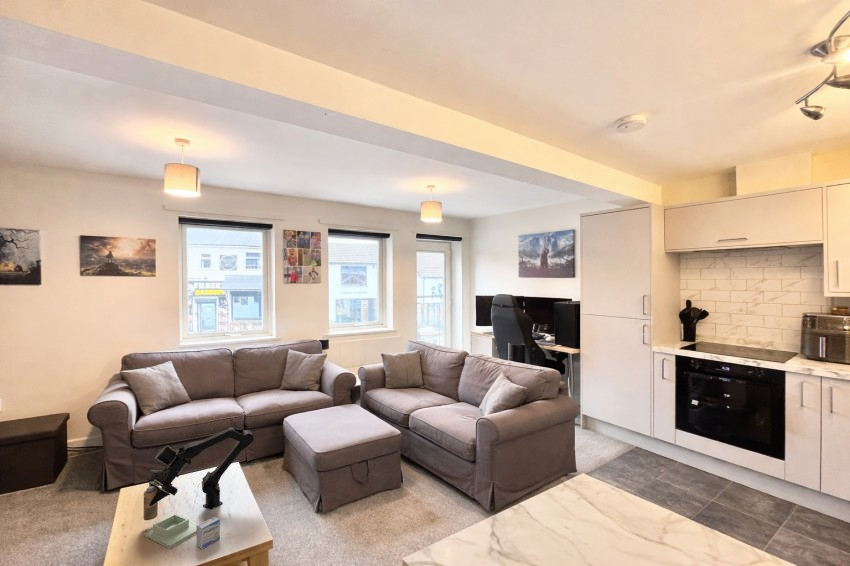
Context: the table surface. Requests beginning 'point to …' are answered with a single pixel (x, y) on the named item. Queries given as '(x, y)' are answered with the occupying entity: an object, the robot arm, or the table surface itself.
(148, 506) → the pepper mill
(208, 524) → the medicine box
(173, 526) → the sage tray
